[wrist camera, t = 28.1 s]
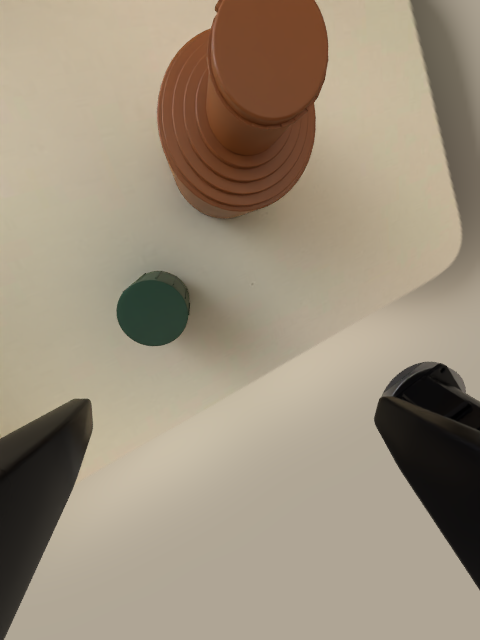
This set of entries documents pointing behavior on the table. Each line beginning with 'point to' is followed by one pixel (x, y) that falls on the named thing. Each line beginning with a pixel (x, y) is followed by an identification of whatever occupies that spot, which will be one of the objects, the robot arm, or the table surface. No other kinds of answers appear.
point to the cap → (154, 309)
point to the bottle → (244, 104)
